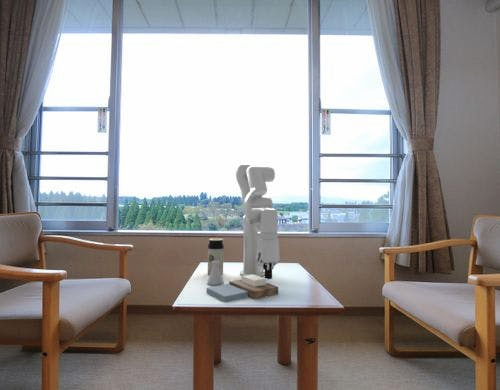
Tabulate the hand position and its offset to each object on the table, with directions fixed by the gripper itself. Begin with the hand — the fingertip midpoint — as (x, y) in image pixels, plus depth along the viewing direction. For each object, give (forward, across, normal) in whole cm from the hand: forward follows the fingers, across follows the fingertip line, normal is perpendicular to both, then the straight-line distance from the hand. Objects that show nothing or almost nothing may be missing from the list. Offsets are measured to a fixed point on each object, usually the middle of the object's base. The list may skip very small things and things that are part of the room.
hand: (268, 278), depth 136 cm
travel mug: (+4, +6, -35) cm, 36 cm away
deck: (+4, +9, +1) cm, 10 cm away
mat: (+4, +21, -1) cm, 21 cm away
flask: (+4, +16, -18) cm, 25 cm away
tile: (+1, +8, 0) cm, 8 cm away
